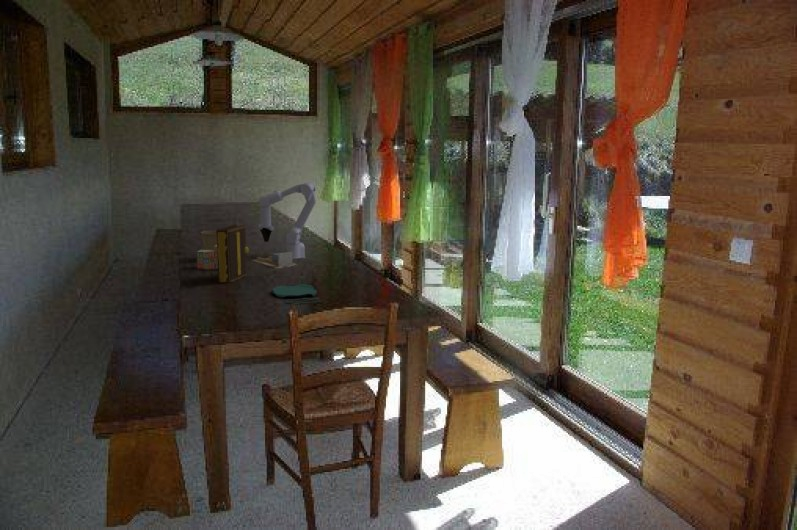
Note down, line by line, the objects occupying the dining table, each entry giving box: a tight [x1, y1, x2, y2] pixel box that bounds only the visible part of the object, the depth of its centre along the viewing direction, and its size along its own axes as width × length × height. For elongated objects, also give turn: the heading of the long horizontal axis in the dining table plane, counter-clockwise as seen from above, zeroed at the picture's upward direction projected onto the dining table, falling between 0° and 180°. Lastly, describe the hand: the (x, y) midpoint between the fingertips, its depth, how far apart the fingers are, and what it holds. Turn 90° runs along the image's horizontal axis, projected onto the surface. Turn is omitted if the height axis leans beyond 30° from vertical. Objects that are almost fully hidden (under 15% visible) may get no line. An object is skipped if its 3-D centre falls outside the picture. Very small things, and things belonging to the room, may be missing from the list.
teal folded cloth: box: [271, 283, 323, 306], centre depth 275 cm, size 20×30×2 cm, turn 19°
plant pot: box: [200, 229, 217, 250], centre depth 353 cm, size 15×15×16 cm
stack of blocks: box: [196, 245, 218, 270], centre depth 332 cm, size 21×6×12 cm, turn 91°
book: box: [216, 224, 250, 284], centre depth 307 cm, size 22×8×25 cm, turn 168°
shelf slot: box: [251, 251, 299, 269], centre depth 346 cm, size 14×26×8 cm, turn 40°
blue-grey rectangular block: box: [271, 252, 279, 263], centre depth 342 cm, size 4×10×5 cm, turn 40°
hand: (266, 241), depth 361 cm, fingers closed
